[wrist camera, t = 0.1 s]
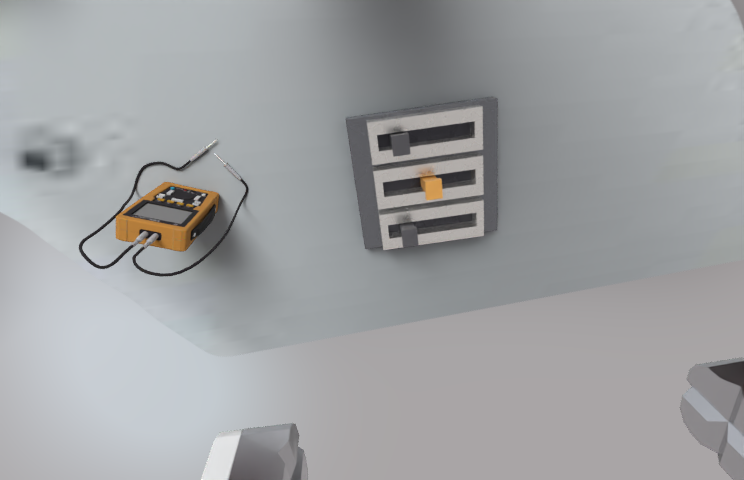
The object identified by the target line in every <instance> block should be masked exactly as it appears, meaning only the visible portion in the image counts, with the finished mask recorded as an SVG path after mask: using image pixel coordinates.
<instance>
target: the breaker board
mask: <svg viewBox="0 0 744 480" xmlns="http://www.w3.org/2000/svg"><path fill="white" fill-rule="evenodd" d="M346 125H347V131H348V138H349V144H350V151H351V158H352V164H353V171H354V177H355V184H356V191H357V197H358V204H359V210H360V217H361V224H362V230H363V237H364V244H365V249H368V248H375V247H382V246H383V250H388V249H395V248H402V247H403V245H402V237H401V234H400V231H399V224H400V223H407V222H413V225H414V227H415V226H416V227H417V234H418V245H423V244H430V243H437V242H444V241H451V240H458V239H465V238H472V237H479V236H484V232H487V231H494V230H497V98H494V97H487V98H480V99H473V100H466V101H459V102H452V103H445V104H438V105H431V106H424V107H417V108H410V109H403V110H396V111H389V112H382V113H375V114H368V115H361V116H354V117H347V118H346ZM396 132H404V133H408V134H409V143H410V154H409V155H402V156H395V157H394V156H393V152H392V147H391V145H390V140H389V133H396ZM431 175H435V176H436V177H437V178H441V179H442V194H443V198H441V199H434V200H426V198H425V192H424V190H423V188H422V187H421V181H420V177H424V176H431Z"/></svg>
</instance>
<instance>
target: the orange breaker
mask: <svg viewBox="0 0 744 480" xmlns="http://www.w3.org/2000/svg"><path fill="white" fill-rule="evenodd" d="M420 181H421V187H422V188H423V190H424V192H425V198H426V200H434V199H441V198H443V194H442V179H441V178H437V177H436V176H435V175H431V176H424V177H420Z"/></svg>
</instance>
